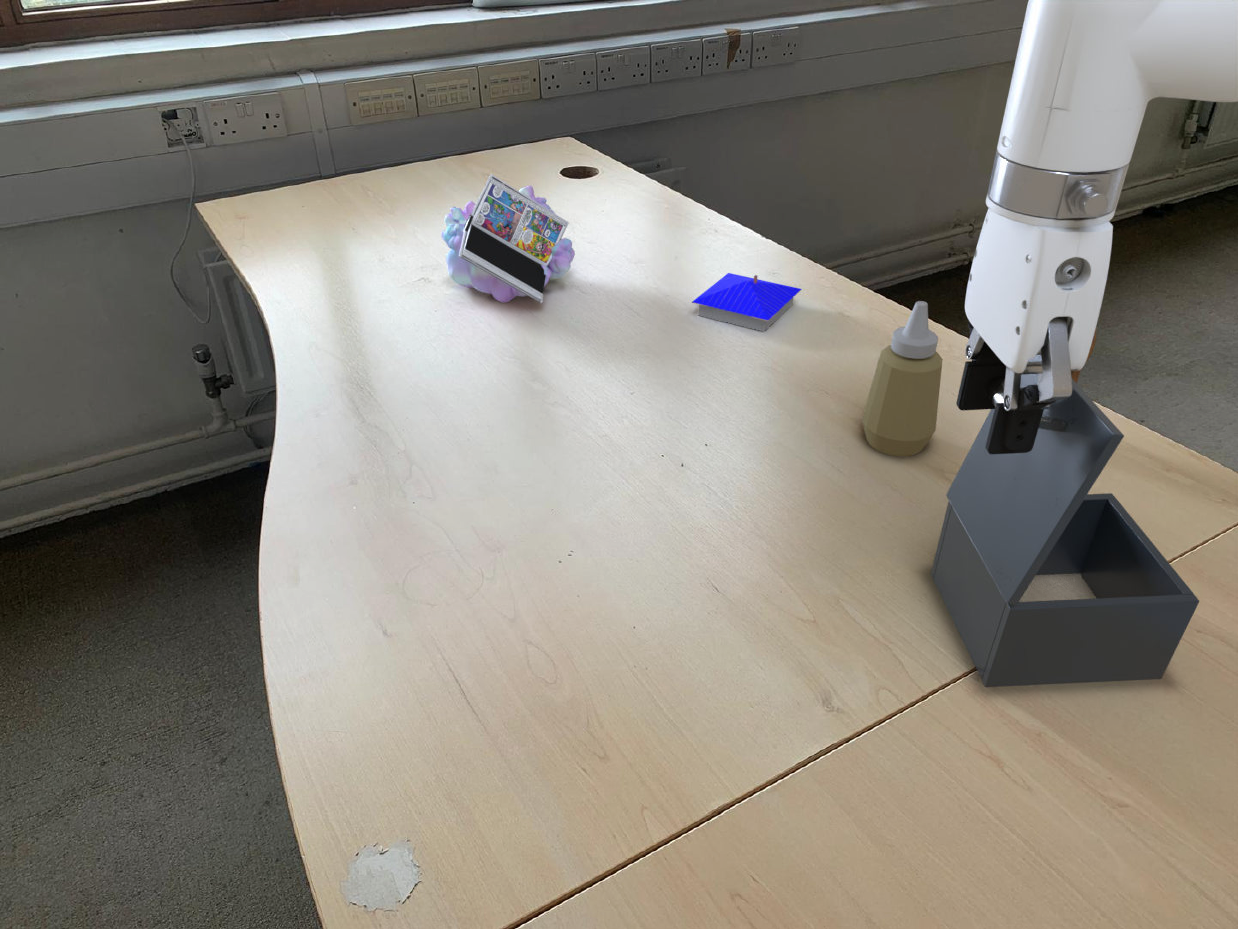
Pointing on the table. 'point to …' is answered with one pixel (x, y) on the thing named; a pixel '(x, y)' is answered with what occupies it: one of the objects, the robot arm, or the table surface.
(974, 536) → the bin lid
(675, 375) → the table surface
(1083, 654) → the grey storage bin
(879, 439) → the squeeze bottle
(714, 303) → the roof
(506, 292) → the pastel cloud comic display
